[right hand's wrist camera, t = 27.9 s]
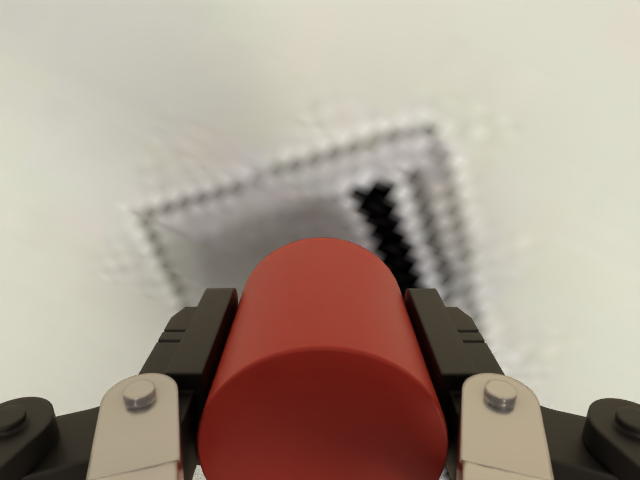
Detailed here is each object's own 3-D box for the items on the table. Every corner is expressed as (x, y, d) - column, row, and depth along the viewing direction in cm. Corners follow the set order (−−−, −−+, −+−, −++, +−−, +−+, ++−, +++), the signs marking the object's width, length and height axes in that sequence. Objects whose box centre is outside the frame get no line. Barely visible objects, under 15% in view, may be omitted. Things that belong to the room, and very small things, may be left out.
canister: (326, 202, 11) (331, 296, 7) (434, 315, 13) (500, 459, 8) (207, 307, 12) (142, 448, 8) (317, 402, 14) (316, 572, 9)
